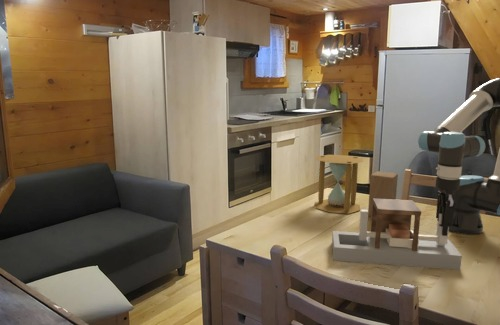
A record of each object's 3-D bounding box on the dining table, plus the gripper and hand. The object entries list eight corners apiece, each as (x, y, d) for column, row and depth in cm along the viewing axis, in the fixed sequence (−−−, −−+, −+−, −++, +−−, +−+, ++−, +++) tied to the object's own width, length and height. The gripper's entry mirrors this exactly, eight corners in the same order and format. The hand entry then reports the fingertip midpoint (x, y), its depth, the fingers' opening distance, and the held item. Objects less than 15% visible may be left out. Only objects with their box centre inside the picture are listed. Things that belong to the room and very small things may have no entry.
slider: (440, 239, 152) (443, 210, 150) (448, 250, 143) (451, 219, 141) (357, 234, 157) (359, 206, 154) (360, 244, 147) (362, 214, 145)
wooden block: (394, 214, 197) (398, 173, 193) (389, 220, 189) (392, 177, 185) (373, 210, 202) (376, 170, 198) (367, 216, 194) (370, 174, 190)
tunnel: (409, 237, 156) (412, 199, 153) (417, 251, 142) (421, 211, 140) (370, 234, 158) (372, 197, 155) (375, 248, 145) (378, 209, 142)
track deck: (446, 250, 156) (447, 238, 155) (460, 269, 140) (461, 255, 139) (332, 243, 162) (332, 231, 161) (333, 260, 147) (334, 247, 146)
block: (405, 240, 152) (406, 224, 151) (408, 246, 147) (409, 230, 145) (388, 239, 153) (389, 223, 152) (390, 245, 148) (392, 229, 146)
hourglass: (366, 204, 212) (370, 156, 207) (353, 217, 193) (356, 164, 188) (323, 197, 223) (325, 152, 218) (306, 208, 205) (308, 159, 200)
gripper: (431, 171, 151) (424, 233, 156) (443, 182, 136) (436, 249, 141) (453, 172, 150) (446, 234, 154) (467, 183, 135) (459, 251, 139)
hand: (441, 241), depth 147 cm, fingers closed on slider, 2 cm apart
